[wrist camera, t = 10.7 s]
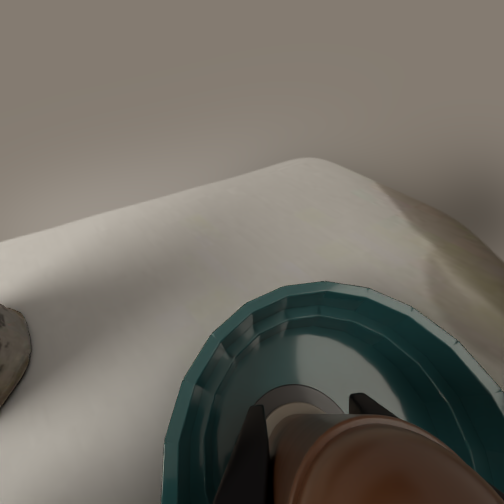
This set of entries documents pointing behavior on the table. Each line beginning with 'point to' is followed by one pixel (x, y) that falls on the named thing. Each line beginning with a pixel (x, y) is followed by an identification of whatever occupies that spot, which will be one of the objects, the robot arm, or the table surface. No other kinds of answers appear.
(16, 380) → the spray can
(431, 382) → the bowl
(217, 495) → the robot arm
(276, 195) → the table surface
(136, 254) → the table surface
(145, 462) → the table surface
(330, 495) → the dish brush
